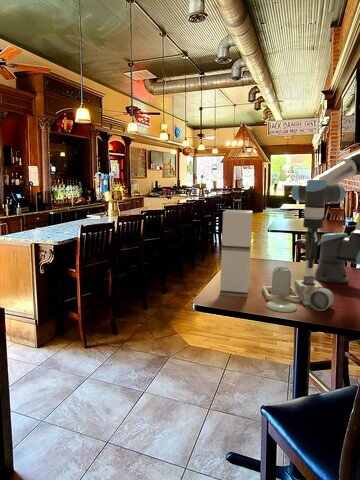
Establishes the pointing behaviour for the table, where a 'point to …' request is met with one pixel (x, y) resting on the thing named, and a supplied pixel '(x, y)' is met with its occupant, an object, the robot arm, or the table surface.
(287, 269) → the can
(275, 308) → the pad
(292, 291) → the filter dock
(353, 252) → the robot arm
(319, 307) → the ceramic mug
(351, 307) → the table surface
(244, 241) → the tall seamed white tower
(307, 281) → the glossy grey oval piece
